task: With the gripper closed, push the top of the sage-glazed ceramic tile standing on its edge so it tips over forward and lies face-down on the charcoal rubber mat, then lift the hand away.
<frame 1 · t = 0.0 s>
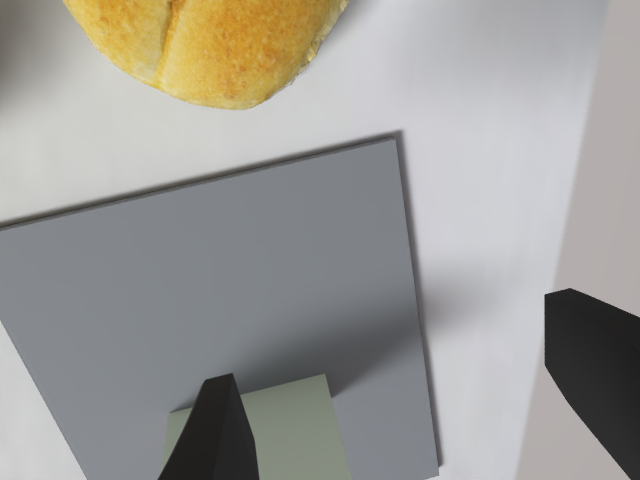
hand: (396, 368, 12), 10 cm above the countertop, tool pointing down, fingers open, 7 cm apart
tile: (251, 405, 25), resting on mat
mat: (242, 374, 24), on the countertop
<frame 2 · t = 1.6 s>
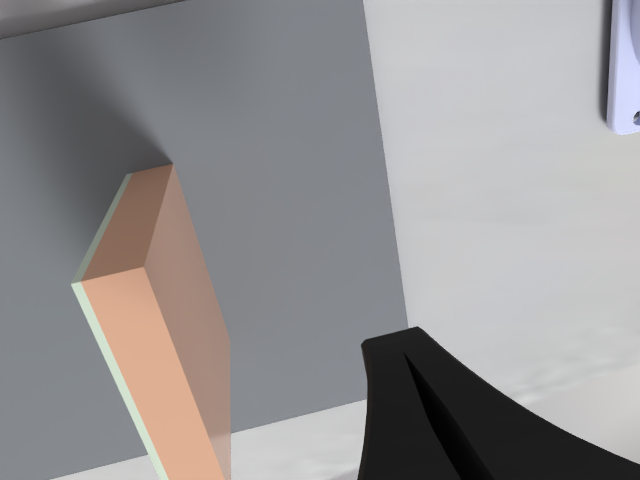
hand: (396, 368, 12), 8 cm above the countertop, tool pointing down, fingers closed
tile: (182, 263, 19), resting on mat
mat: (141, 268, 19), on the countertop
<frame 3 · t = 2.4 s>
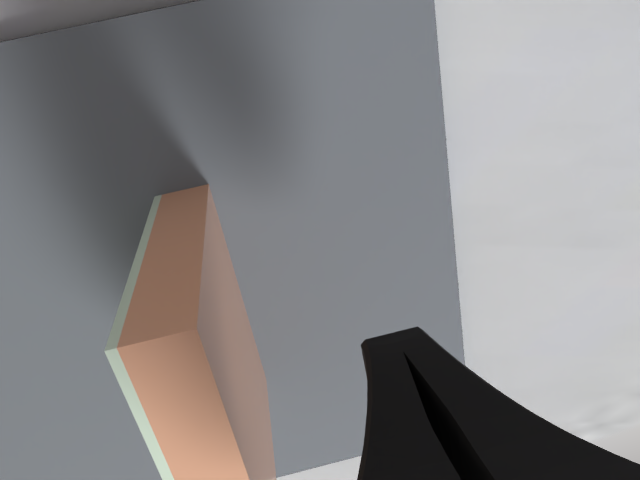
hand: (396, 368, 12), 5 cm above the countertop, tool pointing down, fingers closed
tile: (215, 296, 17), resting on mat
mat: (167, 301, 17), on the countertop
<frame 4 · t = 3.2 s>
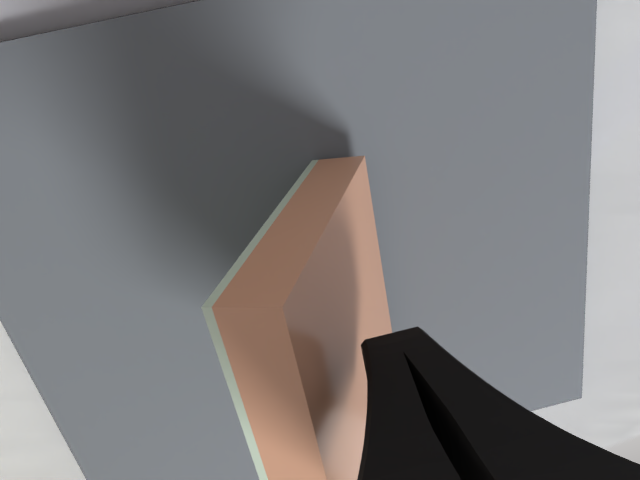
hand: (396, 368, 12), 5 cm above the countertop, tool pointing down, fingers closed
tile: (357, 267, 17), point 1 cm above the countertop, tilted 24°, touching mat
mat: (308, 267, 17), on the countertop
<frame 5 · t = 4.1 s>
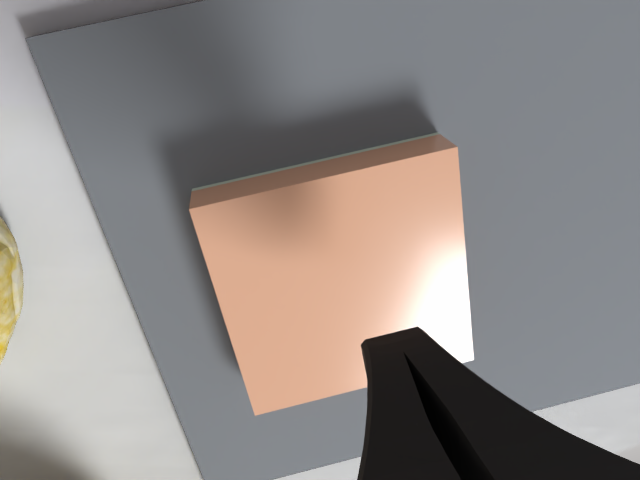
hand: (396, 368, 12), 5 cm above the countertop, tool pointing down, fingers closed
tile: (456, 252, 16), point 1 cm above the countertop, tilted 90°, touching mat
mat: (423, 240, 17), on the countertop
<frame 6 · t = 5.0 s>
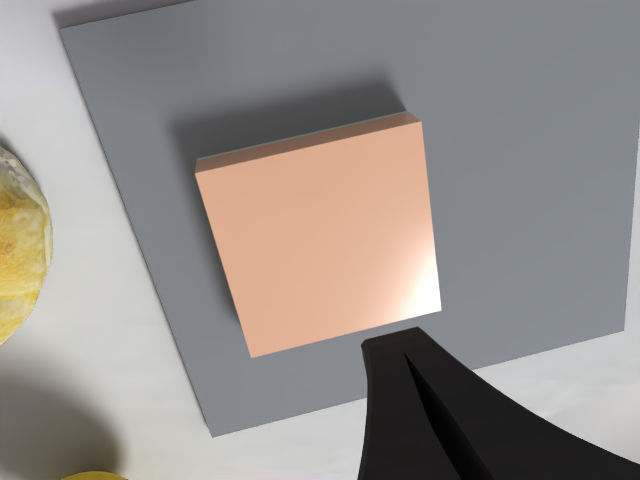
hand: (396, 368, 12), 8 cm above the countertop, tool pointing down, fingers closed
tile: (424, 215, 19), point 1 cm above the countertop, tilted 90°, touching mat
mat: (397, 207, 20), on the countertop
lemon: (102, 473, 23), on the countertop
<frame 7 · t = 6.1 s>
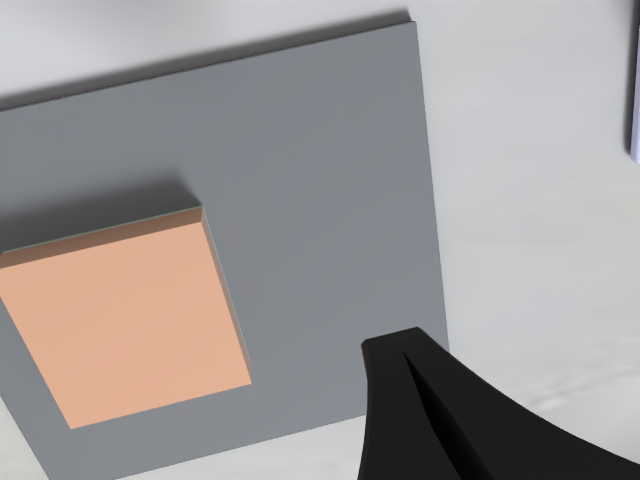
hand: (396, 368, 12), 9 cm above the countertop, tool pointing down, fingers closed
tile: (228, 298, 20), point 1 cm above the countertop, tilted 90°, touching mat
mat: (211, 287, 21), on the countertop
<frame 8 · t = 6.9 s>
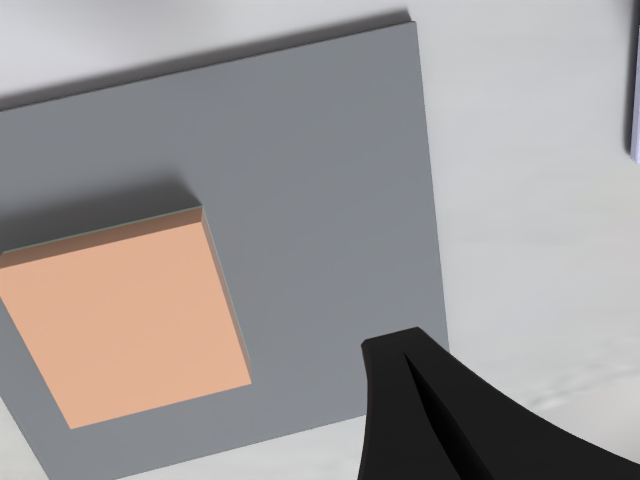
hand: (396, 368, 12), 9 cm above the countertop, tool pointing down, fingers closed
tile: (228, 298, 20), point 1 cm above the countertop, tilted 90°, touching mat
mat: (211, 287, 21), on the countertop
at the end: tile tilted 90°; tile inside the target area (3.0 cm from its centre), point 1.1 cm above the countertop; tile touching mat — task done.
